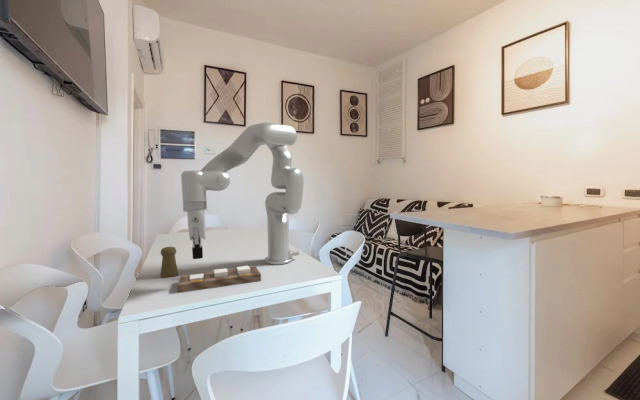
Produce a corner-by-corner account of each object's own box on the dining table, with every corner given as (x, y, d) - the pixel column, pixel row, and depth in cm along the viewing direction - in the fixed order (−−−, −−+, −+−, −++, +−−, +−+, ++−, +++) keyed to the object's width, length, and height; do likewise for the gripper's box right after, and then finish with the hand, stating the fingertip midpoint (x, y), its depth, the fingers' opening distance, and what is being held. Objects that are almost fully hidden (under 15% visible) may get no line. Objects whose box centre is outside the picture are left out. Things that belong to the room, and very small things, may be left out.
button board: (255, 272, 109) (255, 265, 109) (260, 280, 100) (260, 273, 100) (180, 282, 98) (180, 274, 98) (178, 292, 89) (178, 284, 89)
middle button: (226, 274, 102) (226, 268, 102) (227, 278, 98) (227, 271, 98) (214, 276, 100) (214, 269, 100) (214, 280, 96) (214, 273, 96)
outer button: (203, 280, 99) (203, 273, 99) (203, 284, 95) (203, 277, 95) (190, 281, 97) (190, 274, 97) (189, 286, 93) (189, 279, 93)
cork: (160, 274, 107) (159, 246, 106) (177, 271, 110) (176, 244, 109) (160, 278, 102) (159, 249, 101) (178, 276, 105) (177, 248, 104)
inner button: (248, 271, 105) (248, 265, 105) (250, 275, 101) (250, 268, 101) (236, 273, 103) (236, 266, 103) (238, 277, 99) (238, 270, 99)
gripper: (207, 208, 89) (209, 262, 90) (206, 203, 102) (208, 251, 104) (181, 209, 86) (184, 265, 87) (184, 205, 99) (187, 254, 101)
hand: (197, 257), depth 96 cm, fingers closed
